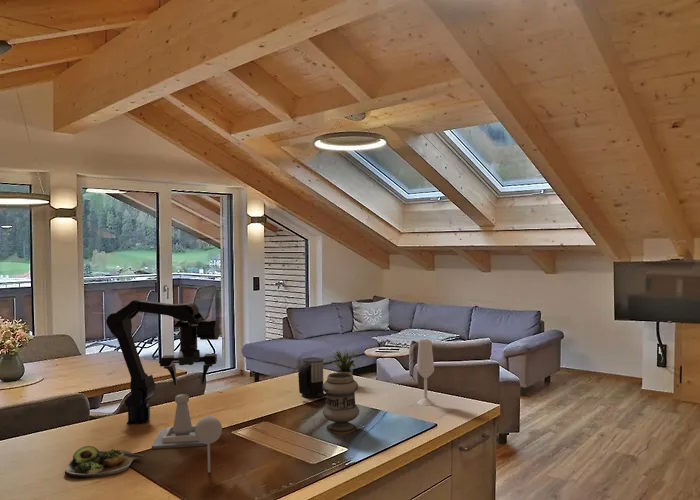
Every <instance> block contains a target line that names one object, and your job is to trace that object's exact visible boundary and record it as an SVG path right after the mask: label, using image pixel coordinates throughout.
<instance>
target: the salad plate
mask: <svg viewBox="0 0 700 500" xmlns="http://www.w3.org/2000/svg"><path fill="white" fill-rule="evenodd" d="M143 457H144V455H143V454H138V453H133V452H131V451H128V450H126V449H125V450H123V449H119V450H118V449H110V451H109V450H108V451H103V450H99V449H97V448H96V447H95V446H90V445H87V446H86V445H85V446H83V447H80V448H78V449H77V450H76V451H75V452H74V454H73V455H72V460H71V461H70V462H69V464H68V466H67V467H66V468H65V470H64V475H66V476H67V477H69V478H71V479H89V478H97V477H103V476H105V477H106V476H109V475H116V474H119V473H122V472H123V471H126V470H127V469H129V468H130V466H131V465H132V463H133V461H135V460H137V459H141V458H143ZM111 468H112V470H108V469H111ZM113 468H116V469H113ZM104 470H108V471H104ZM102 471H103V472H102Z"/></svg>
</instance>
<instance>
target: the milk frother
mask: <svg viewBox="0 0 700 500" xmlns="http://www.w3.org/2000/svg"><path fill="white" fill-rule="evenodd" d="M324 360H325V359H324V358H323V357H316V356H315V357H314V356H311V357H309V356H308V357H304V358H302V359H301V361H302V362H301V363H302V364H301V366H300V367H299V368H298V369H299V370H298V374H297V375H298V376H297V377H298V392H299V394H301V396H302V397H303V398H308V399H317V398H326V392H324V390H323V384H324Z"/></svg>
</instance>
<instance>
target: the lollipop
mask: <svg viewBox="0 0 700 500" xmlns="http://www.w3.org/2000/svg"><path fill="white" fill-rule="evenodd" d="M195 425H196V427H195V435H196V438H197V439H198V440H199V441H200V442H202V443H204V444H206V447H207V452H206V453H207V473H211V444H213V443H215V442H217V441H218V439H220V437H221V435H222V432H223V426H222V424H221V421H220V420H219V419H218V418H217V417H214V416H211V415H210V416H208V415H207V416H203V417H201V418H200V419H199V420H198V421H197V423H196V424H195Z"/></svg>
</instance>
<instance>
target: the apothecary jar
mask: <svg viewBox="0 0 700 500" xmlns="http://www.w3.org/2000/svg"><path fill="white" fill-rule="evenodd" d="M326 378H327V379H326V381H325V382H323V390H324V393H326V397H325V398H326V404H325V406H324V407H323V410H322V414H323V416H324V418H325V419H327V420H328V421H330V422H332V423H329V424H327V426H326V430H327V431H328V432H331V433H333V434H349V433H350V434H351V433H352V432H354V431H356V429H357V426H356V425H355V424H354V423H352V421H353V420H355V419H356V418H357V417H358V416H359V414H360V408H359V406H357V404H356V392H357V391H358V390H359V384H358V382H357V381H356V380H354V375H353V374H351V373H347V372H337V371H336V372H332V373H329V374H327V377H326Z"/></svg>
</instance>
